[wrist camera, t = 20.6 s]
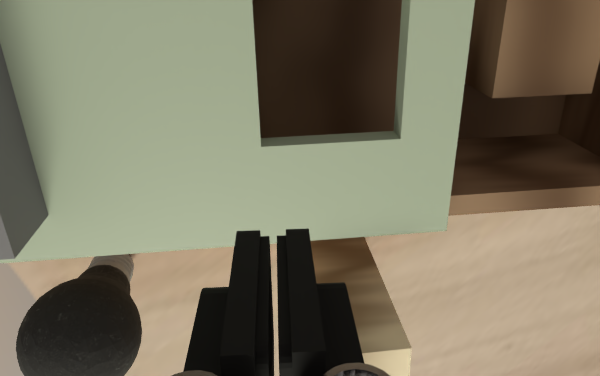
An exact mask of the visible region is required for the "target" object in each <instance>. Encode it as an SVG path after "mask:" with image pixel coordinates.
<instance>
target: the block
mask: <svg viewBox="0 0 600 376" xmlns="http://www.w3.org/2000/svg"><path fill="white" fill-rule="evenodd" d="M311 248H312V255H313V262H314V269H315V276H316V283H339V282H345V284H346V287H347V291H348V295H349V299H350V304H351V308H352V312H353V316H354V321H355V325H356V329H357V333H358V338H359V342H360V346H361V350H362V355H363V359H364V363H365V364H369V365H373V366H375V367H377V368H379V369H382V370H384V371H385V372H386V373H387V374H389V375H390V376H409V374H410V362H411V350H412V348H411V346H410V343H409V341H408V339H407V336H406V334H405V332H404V329H403V327H402V325H401V322H400V320H399V318H398V315H397V313H396V310H395V308H394V306H393V303H392V301H391V299H390V296H389V294H388V292H387V289H386V287H385V285H384V282H383V280H382V278H381V275H380V273H379V271H378V268H377V266H376V264H375V261H374V259H373V257H372V254H371V252H370V250H369V247H368V245H367V243H366V240H365V238H364V237H356V238H342V239H328V240H314V241H311Z"/></svg>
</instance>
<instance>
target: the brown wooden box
mask: <svg viewBox="0 0 600 376" xmlns="http://www.w3.org/2000/svg"><path fill="white" fill-rule="evenodd" d="M252 5H253V22H254V38H255V54H256V71H257V87H258V104H259V120H260V136H261V138H273V137H291V136H309V135H327V134H346V133H364V132H382V131H394V117H395V101H396V85H397V70H398V54H399V38H400V22H401V7H402V0H252ZM592 205H600V0H475V5H474V13H473V21H472V29H471V37H470V45H469V53H468V61H467V69H466V77H465V85H464V93H463V101H462V109H461V117H460V125H459V133H458V141H457V149H456V157H455V165H454V174H453V182H452V190H451V198H450V206H449V214H448V216H449V215H463V214H478V213H492V212H506V211H520V210H535V209H549V208H563V207H577V206H592Z"/></svg>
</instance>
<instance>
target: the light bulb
mask: <svg viewBox="0 0 600 376" xmlns="http://www.w3.org/2000/svg"><path fill="white" fill-rule="evenodd" d="M133 268H134V264H133V261H132V258H131V257H130V256H129V255H128V254H122V255H108V256H95V257H94V258H93V260H92V261H91V264H90V266H89V267H88V269H87V270H86V271H85V272H83V273H82V274H81V275H80V276H79V277H78V278H76V279H73V280H70V281H67V282H64V283H62V284H59V285H58V286H56V287H54V288H53V289H51V290H50V291H48V292H47V293H45V294H44V295H43V296H41V297H40V298H39V299H38V300H37V301H36V302H35V304H34V305H33V306H32V307H31V308H30V309H29V310H28V312H27V314H26V316H25V318H24V319H23V321H22V323H21V326H20V328H19V332H18V336H17V342H16V352H17V359H18V363H19V366H20V369H21V371H22V373H23V374H24V376H124V375H125V374H126V373H127V371H128V370H129V368H130V367H131V366H132V364H133V362H134V360H135V358H136V356H137V354H138V350H139V347H140V344H141V335H142V328H141V320H140V315H139V312H138V309H137V306H136V305H135V303H134V301H133V300H132V298H131V296H130V281H131V278H132V275H133Z"/></svg>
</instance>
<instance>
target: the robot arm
mask: <svg viewBox="0 0 600 376" xmlns="http://www.w3.org/2000/svg"><path fill="white" fill-rule="evenodd" d="M277 280H278V339H279V373H280V376H390V375H389V374H387V373H386V372H385V371H384V370H382V369H379V368H377V367H375V366H373V365H369V364H365V363H364V359H363V355H362V350H361V346H360V342H359V338H358V333H357V329H356V325H355V321H354V316H353V312H352V308H351V304H350V299H349V295H348V291H347V287H346V284H345V282H339V283H316V276H315V269H314V262H313V255H312V248H311V241H310V234H309V229H286V235H283V236H277ZM172 376H274V330H273V306H272V283H271V260H270V238H269V236H261V234H260V230H252V231H237V232H236V239H235V246H234V253H233V261H232V268H231V275H230V283H229V287H216V288H203V289H202V291H201V294H200V299H199V303H198V308H197V312H196V317H195V322H194V326H193V331H192V335H191V340H190V344H189V349H188V353H187V358H186V362H185V367H184V371H183V372H181V373H178V374H174V375H172Z"/></svg>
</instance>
